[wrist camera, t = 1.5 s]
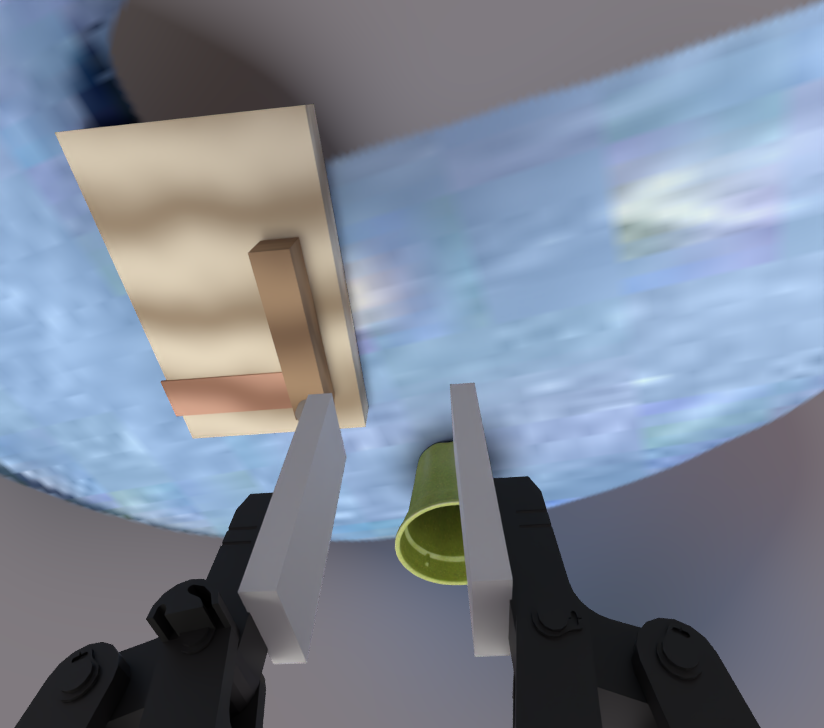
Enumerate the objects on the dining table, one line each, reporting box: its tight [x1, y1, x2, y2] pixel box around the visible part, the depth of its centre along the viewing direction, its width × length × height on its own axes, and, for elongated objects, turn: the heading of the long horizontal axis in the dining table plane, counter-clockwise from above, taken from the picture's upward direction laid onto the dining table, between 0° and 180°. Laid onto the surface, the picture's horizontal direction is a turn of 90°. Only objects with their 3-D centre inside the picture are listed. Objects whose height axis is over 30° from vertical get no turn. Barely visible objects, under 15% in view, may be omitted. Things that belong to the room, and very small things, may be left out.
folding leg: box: [248, 237, 335, 421], centre depth 29 cm, size 12×2×3 cm, turn 5°
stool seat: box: [55, 104, 368, 438], centre depth 31 cm, size 22×14×3 cm, turn 5°
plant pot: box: [395, 442, 467, 585], centre depth 37 cm, size 9×9×9 cm
